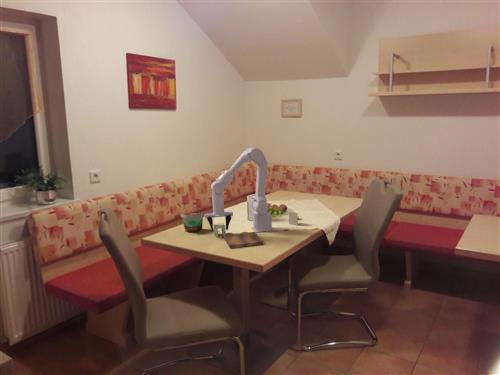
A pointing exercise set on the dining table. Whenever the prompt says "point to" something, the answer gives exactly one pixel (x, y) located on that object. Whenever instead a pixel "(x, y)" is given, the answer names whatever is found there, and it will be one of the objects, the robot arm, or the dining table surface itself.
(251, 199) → the syrup box
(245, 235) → the serving board
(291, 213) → the architectural model
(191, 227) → the food container
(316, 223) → the dining table surface
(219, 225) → the pale slotted block
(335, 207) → the dining table surface
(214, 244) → the dining table surface
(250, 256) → the dining table surface
